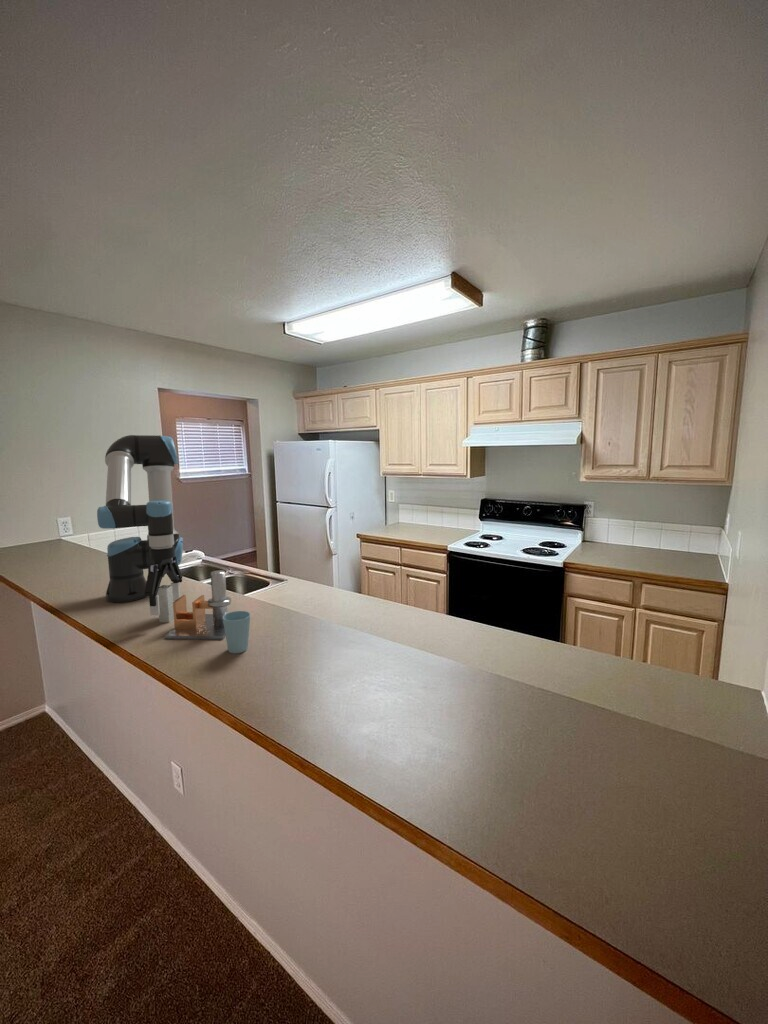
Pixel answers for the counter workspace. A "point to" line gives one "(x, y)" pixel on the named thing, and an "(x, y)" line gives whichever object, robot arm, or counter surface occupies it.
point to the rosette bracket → (202, 613)
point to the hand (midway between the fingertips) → (166, 607)
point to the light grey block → (166, 603)
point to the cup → (237, 630)
